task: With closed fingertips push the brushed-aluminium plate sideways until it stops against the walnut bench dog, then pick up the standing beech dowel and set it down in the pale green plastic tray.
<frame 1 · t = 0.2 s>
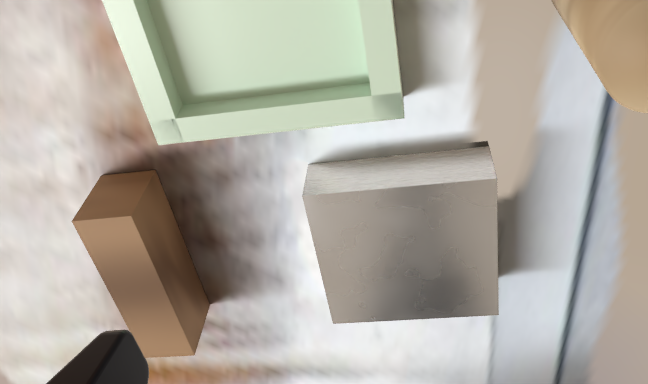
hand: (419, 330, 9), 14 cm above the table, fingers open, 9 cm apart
bench dog: (159, 245, 28), on the table
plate: (404, 218, 26), on the table
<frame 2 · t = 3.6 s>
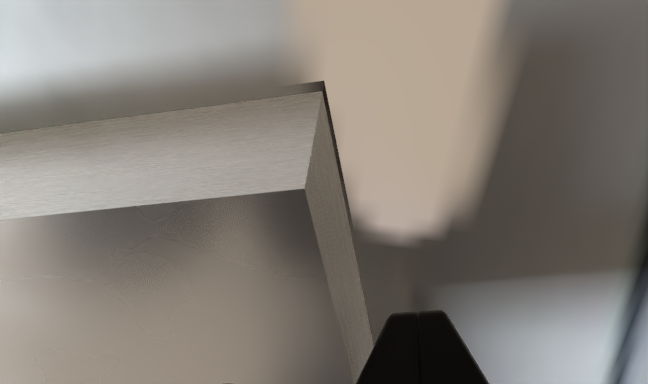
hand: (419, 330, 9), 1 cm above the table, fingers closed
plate: (166, 285, 11), on the table
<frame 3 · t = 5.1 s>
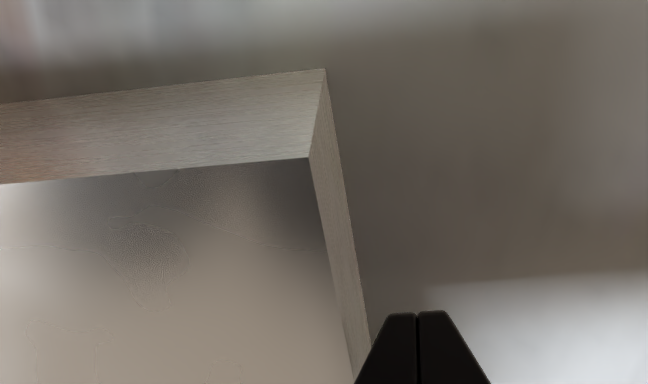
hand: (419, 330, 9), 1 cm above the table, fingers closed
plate: (160, 264, 11), on the table
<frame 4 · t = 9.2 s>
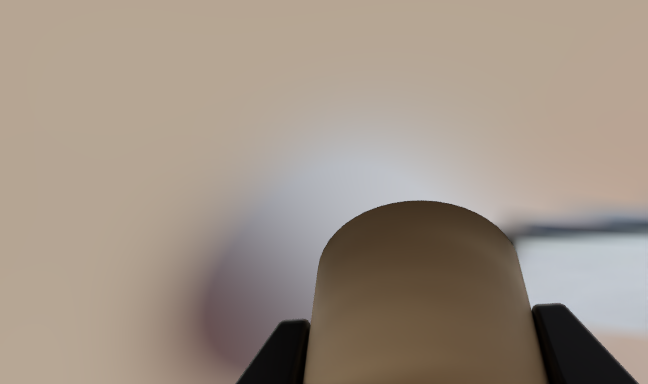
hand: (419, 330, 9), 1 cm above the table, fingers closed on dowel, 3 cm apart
dowel: (417, 280, 10), on the table, touching gripper
when the fingers open (2 cm above the table, at t = 13.0 s): dowel stays where it is, resting on tray.
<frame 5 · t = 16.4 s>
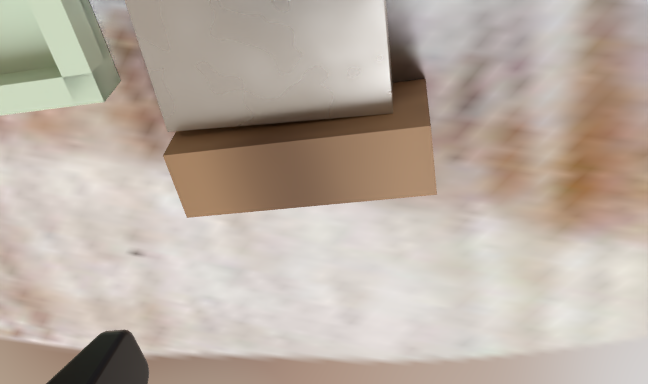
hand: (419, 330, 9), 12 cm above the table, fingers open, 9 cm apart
bench dog: (310, 125, 21), on the table
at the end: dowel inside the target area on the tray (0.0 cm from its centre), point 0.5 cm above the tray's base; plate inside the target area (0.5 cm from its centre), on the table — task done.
